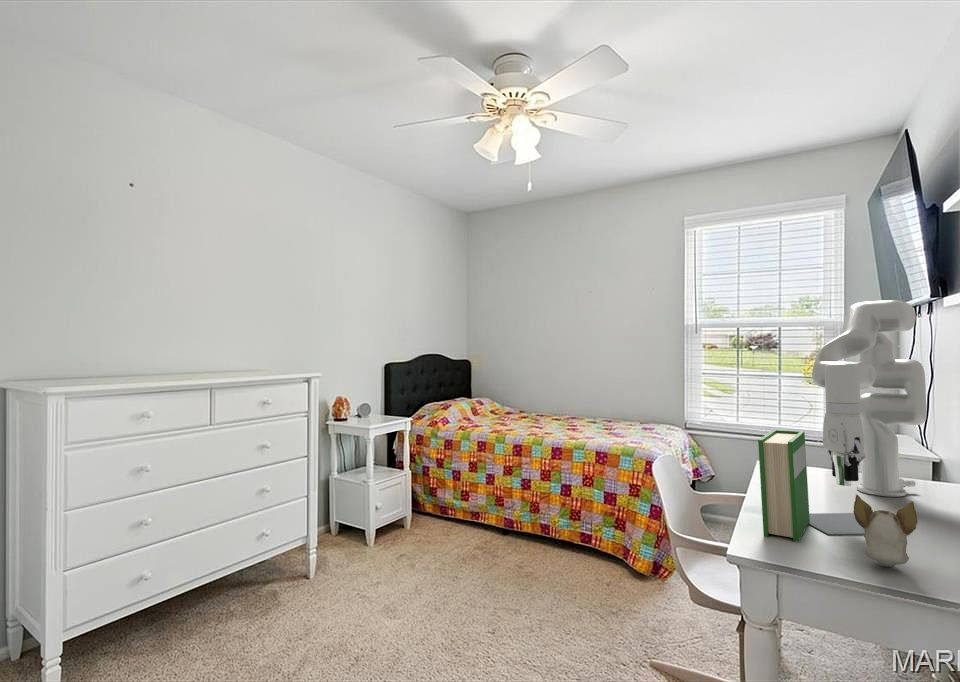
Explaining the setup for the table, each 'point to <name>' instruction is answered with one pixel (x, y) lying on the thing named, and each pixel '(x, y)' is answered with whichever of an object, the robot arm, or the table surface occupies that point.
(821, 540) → the table surface
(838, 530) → the mouse pad
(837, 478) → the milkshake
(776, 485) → the hardback book
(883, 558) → the ceramic sculpture
